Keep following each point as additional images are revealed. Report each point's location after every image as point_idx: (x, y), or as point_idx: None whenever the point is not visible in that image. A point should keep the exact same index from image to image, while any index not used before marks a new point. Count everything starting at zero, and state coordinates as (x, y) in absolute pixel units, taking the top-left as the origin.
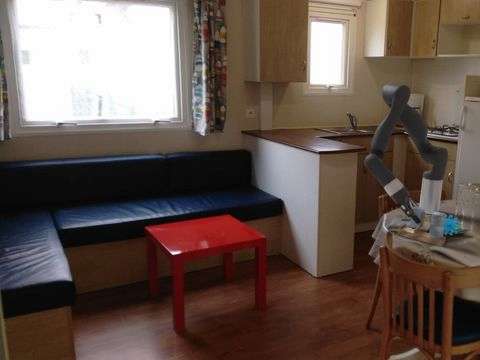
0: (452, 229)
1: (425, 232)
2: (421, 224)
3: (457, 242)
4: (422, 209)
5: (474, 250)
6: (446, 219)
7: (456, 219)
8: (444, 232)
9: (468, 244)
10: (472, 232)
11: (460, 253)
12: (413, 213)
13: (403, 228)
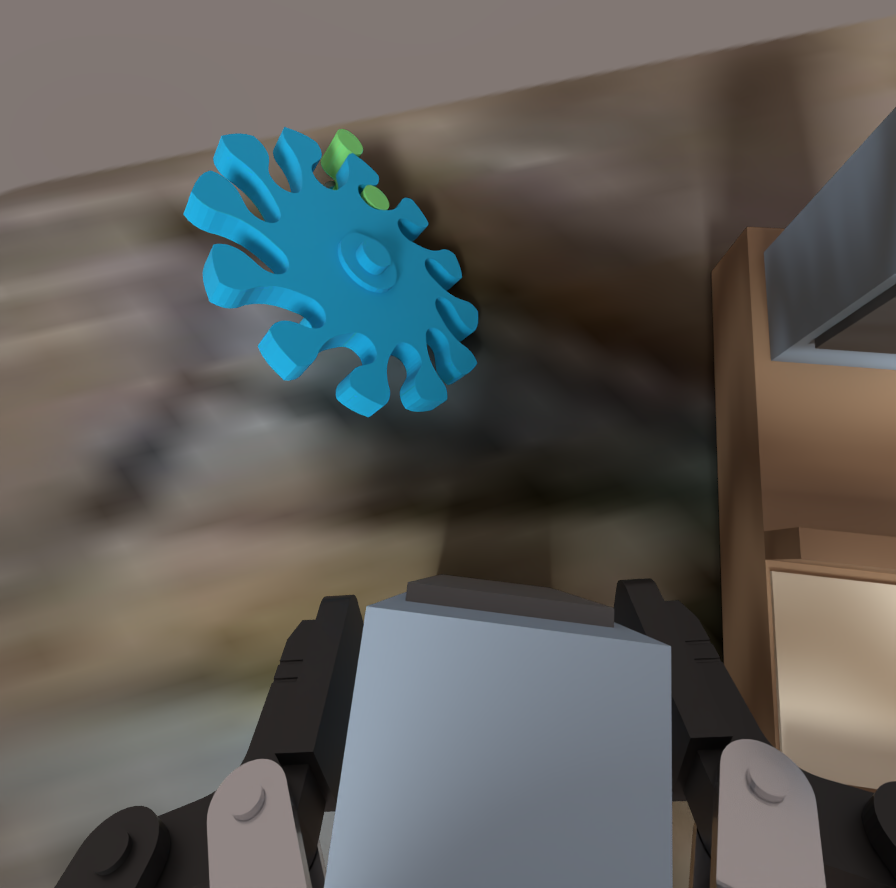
0: (406, 238)
1: (775, 453)
2: (518, 585)
3: (595, 195)
4: (573, 632)
5: (691, 61)
6: (298, 266)
7: (258, 149)
8: (463, 321)
9: (576, 122)
10: (214, 168)
11: (868, 115)
12: (811, 817)
13: None
